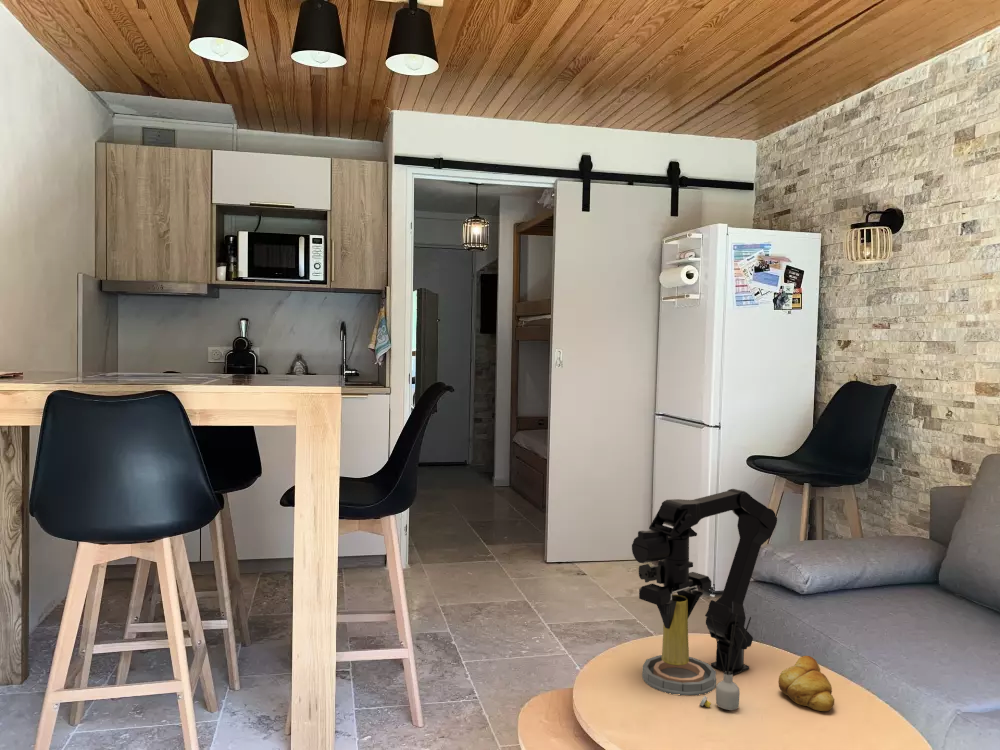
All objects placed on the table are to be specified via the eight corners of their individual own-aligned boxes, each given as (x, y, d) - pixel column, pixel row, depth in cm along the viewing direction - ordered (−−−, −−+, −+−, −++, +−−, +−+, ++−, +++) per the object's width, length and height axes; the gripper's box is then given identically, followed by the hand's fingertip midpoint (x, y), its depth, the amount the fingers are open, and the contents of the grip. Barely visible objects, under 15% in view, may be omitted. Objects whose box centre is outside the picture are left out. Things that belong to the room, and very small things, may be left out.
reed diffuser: (745, 703, 157) (747, 610, 157) (755, 719, 151) (757, 621, 150) (696, 701, 158) (698, 608, 157) (705, 717, 151) (707, 620, 150)
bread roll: (845, 715, 153) (846, 676, 153) (800, 717, 152) (801, 678, 152) (811, 687, 166) (812, 651, 165) (770, 689, 165) (771, 653, 164)
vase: (689, 667, 164) (690, 603, 164) (661, 664, 165) (661, 601, 165) (688, 655, 170) (688, 594, 170) (661, 653, 171) (661, 592, 171)
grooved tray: (673, 658, 180) (674, 648, 180) (731, 683, 167) (731, 672, 167) (627, 675, 170) (627, 665, 170) (684, 702, 157) (684, 691, 157)
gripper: (674, 542, 179) (674, 606, 180) (620, 556, 168) (620, 624, 168) (713, 553, 170) (712, 620, 171) (659, 567, 159) (658, 639, 159)
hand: (675, 625), depth 167 cm, fingers closed on vase, 5 cm apart
